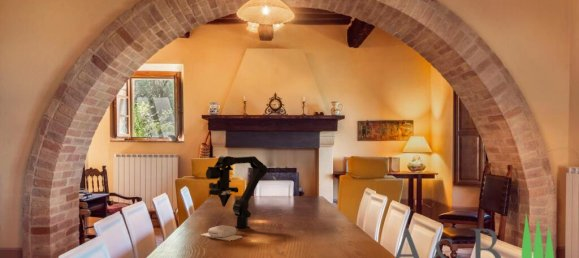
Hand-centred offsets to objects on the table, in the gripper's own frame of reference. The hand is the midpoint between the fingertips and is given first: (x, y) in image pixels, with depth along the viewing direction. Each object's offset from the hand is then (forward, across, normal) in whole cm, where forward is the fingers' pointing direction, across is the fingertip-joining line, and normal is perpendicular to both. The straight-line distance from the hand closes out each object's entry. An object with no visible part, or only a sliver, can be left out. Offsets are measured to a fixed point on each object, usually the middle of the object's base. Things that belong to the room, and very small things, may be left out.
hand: (223, 206), depth 248 cm
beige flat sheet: (+13, +13, +10) cm, 21 cm away
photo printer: (+10, +7, +10) cm, 16 cm away
